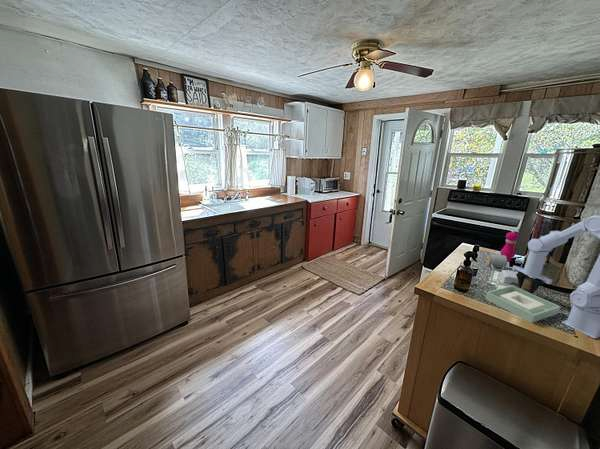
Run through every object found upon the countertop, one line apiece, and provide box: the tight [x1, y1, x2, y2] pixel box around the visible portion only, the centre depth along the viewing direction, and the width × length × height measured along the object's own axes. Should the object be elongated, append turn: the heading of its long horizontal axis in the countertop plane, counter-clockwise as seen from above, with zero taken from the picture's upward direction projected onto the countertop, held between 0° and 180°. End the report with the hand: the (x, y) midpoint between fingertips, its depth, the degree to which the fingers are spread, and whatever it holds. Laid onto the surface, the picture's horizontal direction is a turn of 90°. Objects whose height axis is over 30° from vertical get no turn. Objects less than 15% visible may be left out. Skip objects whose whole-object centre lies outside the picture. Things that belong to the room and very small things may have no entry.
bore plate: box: [499, 291, 545, 314], centre depth 108 cm, size 11×11×3 cm
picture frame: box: [484, 285, 562, 324], centre depth 108 cm, size 18×18×4 cm
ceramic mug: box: [486, 254, 508, 272], centre depth 146 cm, size 11×8×8 cm
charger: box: [499, 269, 519, 287], centre depth 132 cm, size 5×9×15 cm
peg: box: [520, 277, 534, 294], centre depth 118 cm, size 4×4×8 cm
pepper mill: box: [499, 229, 519, 263], centre depth 155 cm, size 7×7×20 cm
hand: (526, 290), depth 118 cm, fingers closed on peg, 4 cm apart
